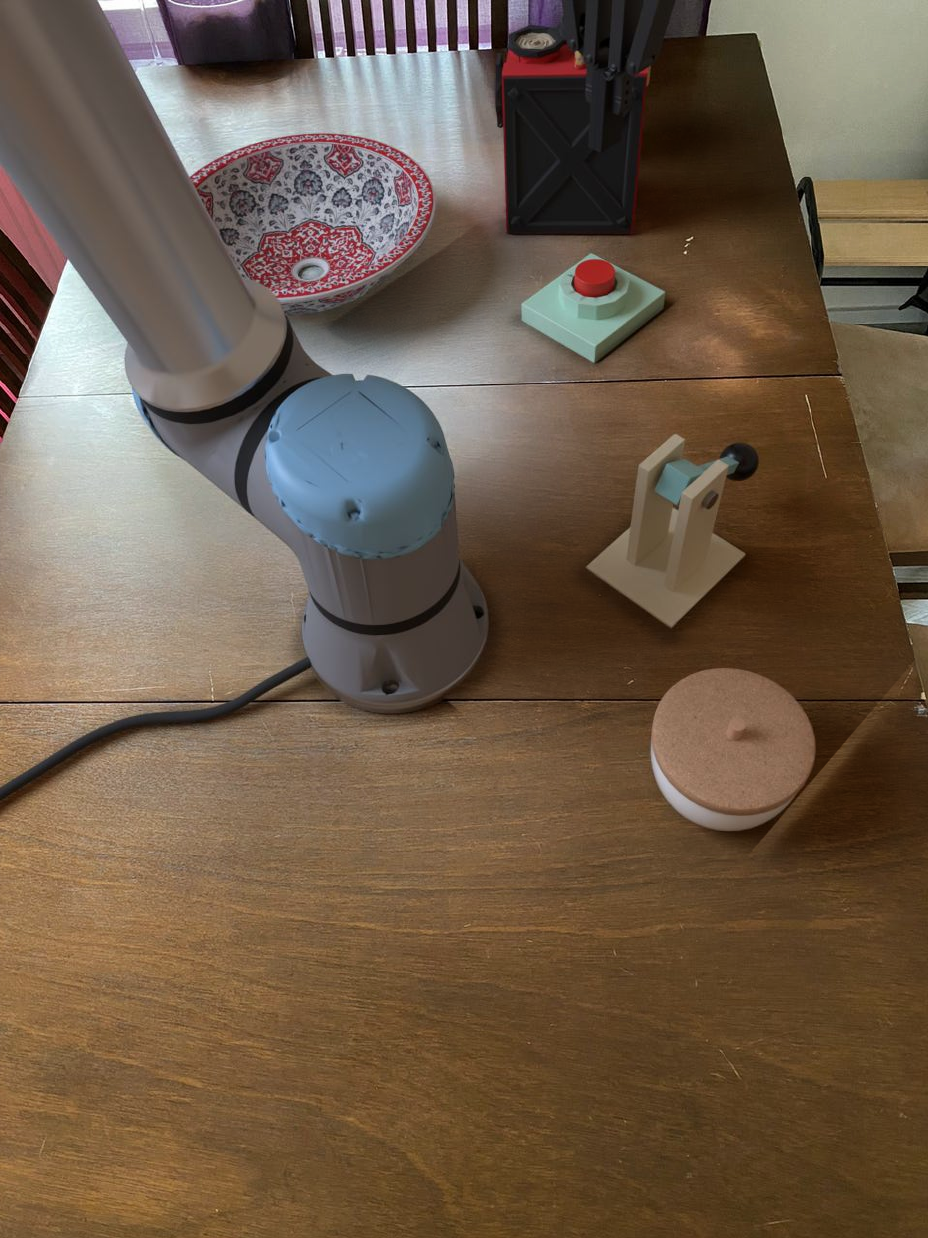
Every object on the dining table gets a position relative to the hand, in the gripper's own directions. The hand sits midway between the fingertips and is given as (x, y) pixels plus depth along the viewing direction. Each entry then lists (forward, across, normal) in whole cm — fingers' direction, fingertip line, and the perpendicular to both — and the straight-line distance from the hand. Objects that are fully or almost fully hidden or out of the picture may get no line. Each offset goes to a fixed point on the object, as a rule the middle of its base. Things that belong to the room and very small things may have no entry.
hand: (604, 143), depth 85 cm
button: (+15, +1, -1) cm, 15 cm away
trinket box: (+20, -40, +33) cm, 56 cm away
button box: (+19, +1, -1) cm, 19 cm away
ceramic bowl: (+19, +29, +14) cm, 37 cm away
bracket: (+19, -25, +20) cm, 38 cm away
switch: (+12, -25, +17) cm, 33 cm away
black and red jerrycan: (+19, +14, -13) cm, 27 cm away
